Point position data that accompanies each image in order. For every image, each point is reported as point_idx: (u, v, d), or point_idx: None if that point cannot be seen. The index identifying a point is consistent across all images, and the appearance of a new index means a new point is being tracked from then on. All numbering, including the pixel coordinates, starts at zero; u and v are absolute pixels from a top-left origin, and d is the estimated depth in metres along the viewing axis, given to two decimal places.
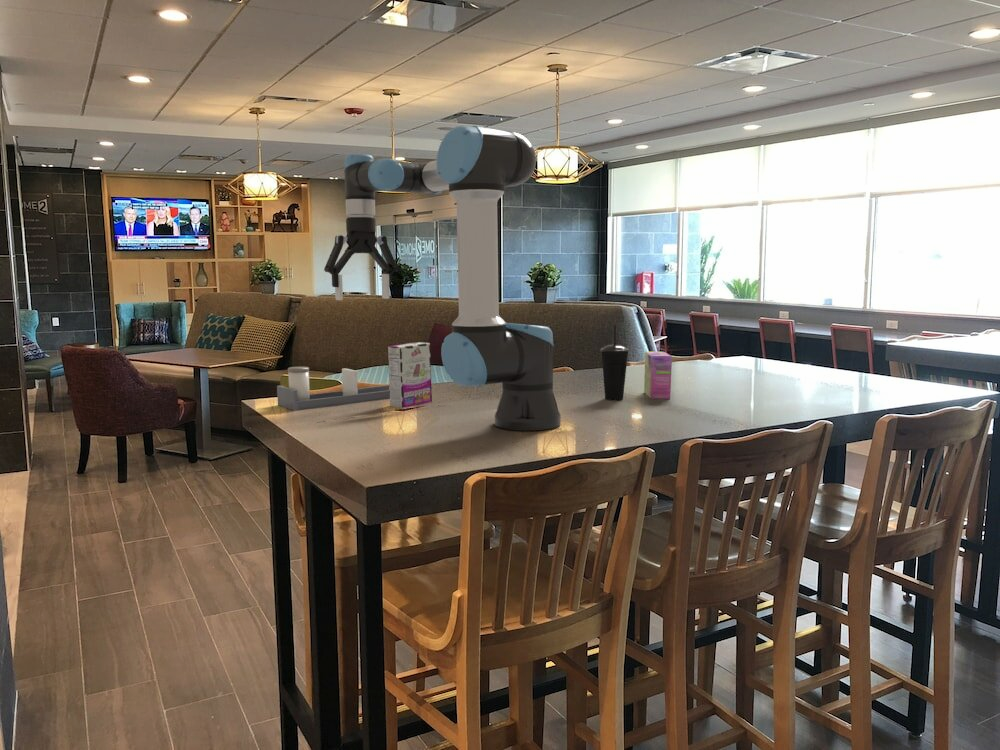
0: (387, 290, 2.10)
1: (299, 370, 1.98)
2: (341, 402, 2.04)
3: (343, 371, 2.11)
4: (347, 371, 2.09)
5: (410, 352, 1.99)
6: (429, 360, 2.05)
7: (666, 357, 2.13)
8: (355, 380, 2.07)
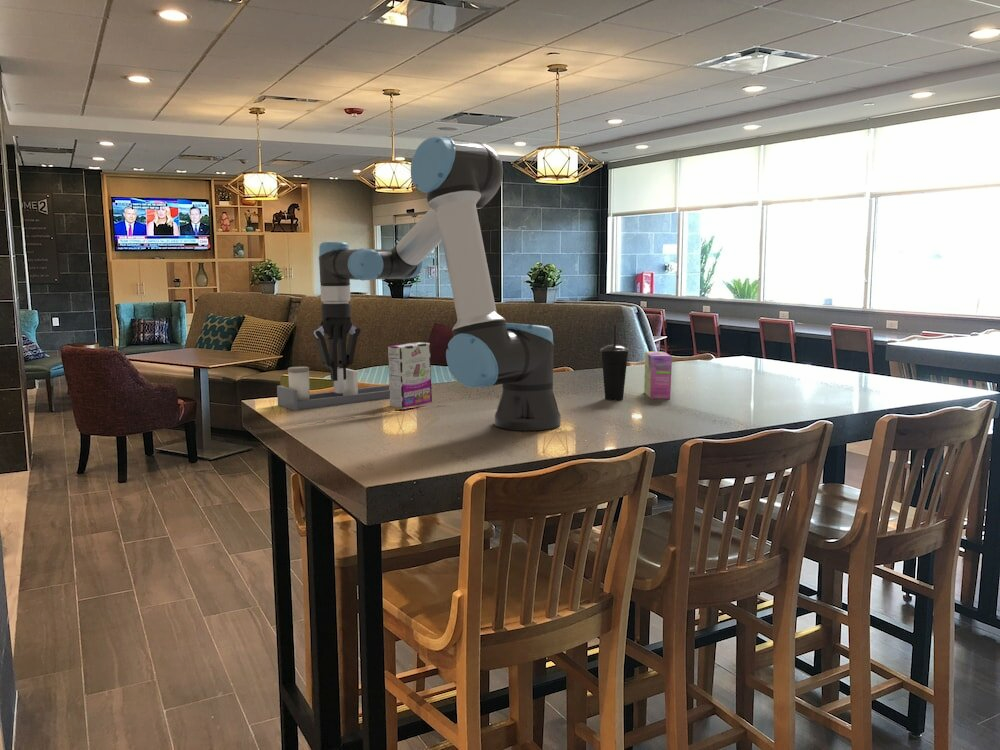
0: (341, 384, 2.07)
1: (299, 370, 1.98)
2: (341, 402, 2.04)
3: None
4: (347, 371, 2.09)
5: (410, 352, 1.99)
6: (429, 360, 2.05)
7: (666, 357, 2.13)
8: (355, 380, 2.07)
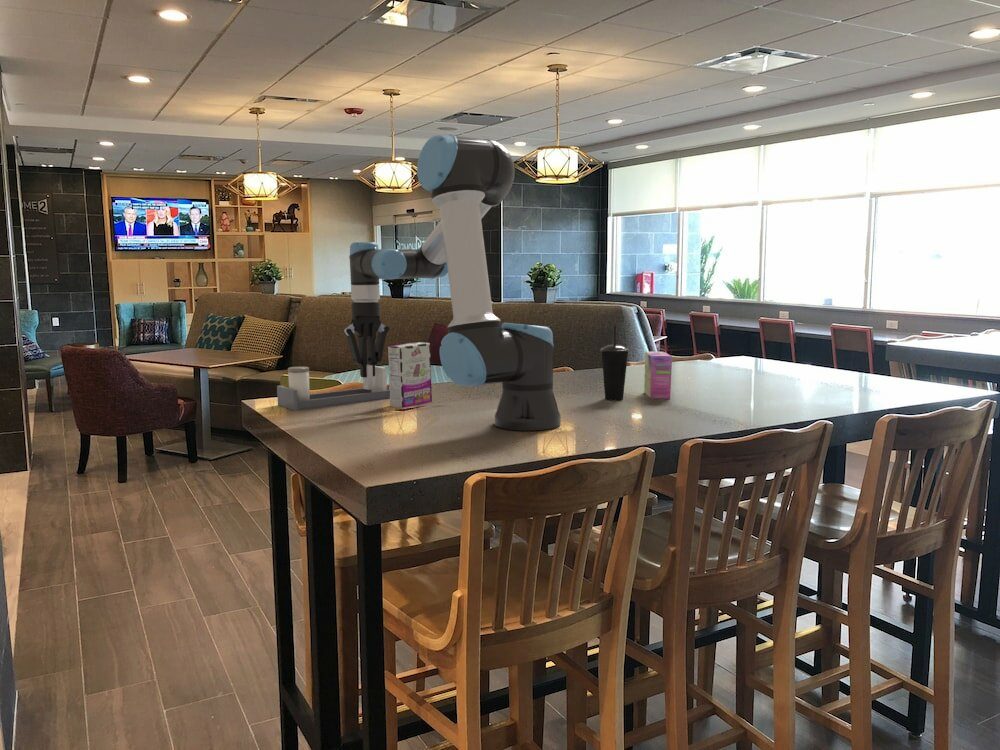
0: (371, 381, 2.12)
1: (299, 370, 1.98)
2: (341, 402, 2.04)
3: None
4: (376, 368, 2.14)
5: (410, 352, 1.99)
6: (429, 360, 2.05)
7: (666, 357, 2.13)
8: (384, 377, 2.12)
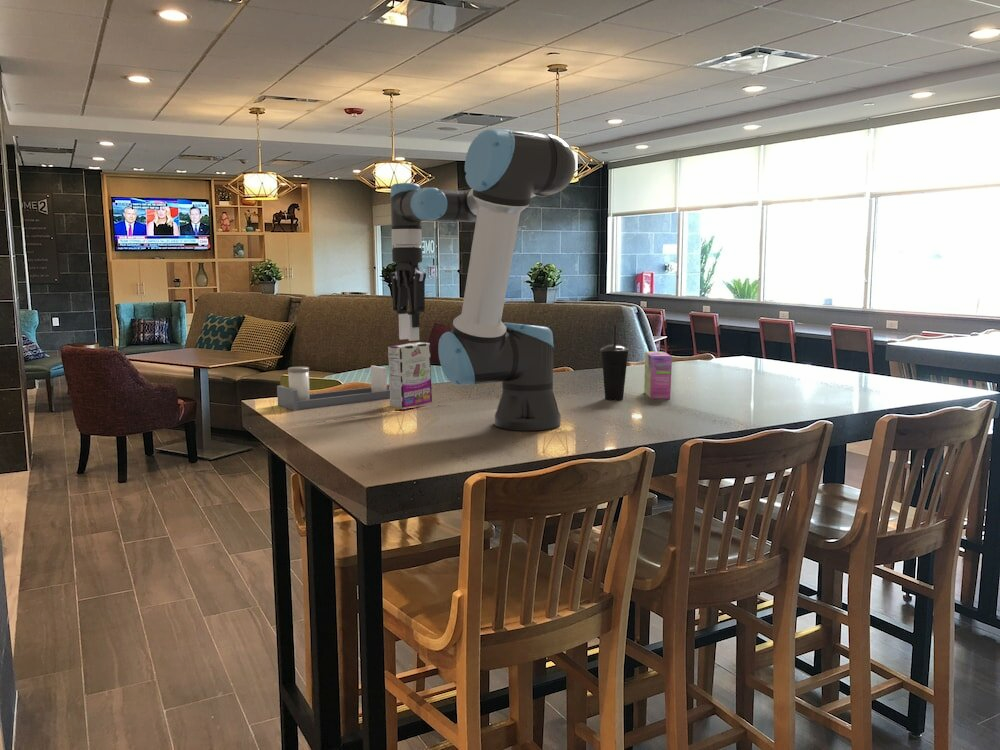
0: (409, 332, 1.99)
1: (299, 370, 1.98)
2: (341, 402, 2.04)
3: (372, 368, 2.16)
4: (376, 368, 2.14)
5: (410, 352, 1.99)
6: (429, 360, 2.05)
7: (666, 357, 2.13)
8: (384, 377, 2.12)
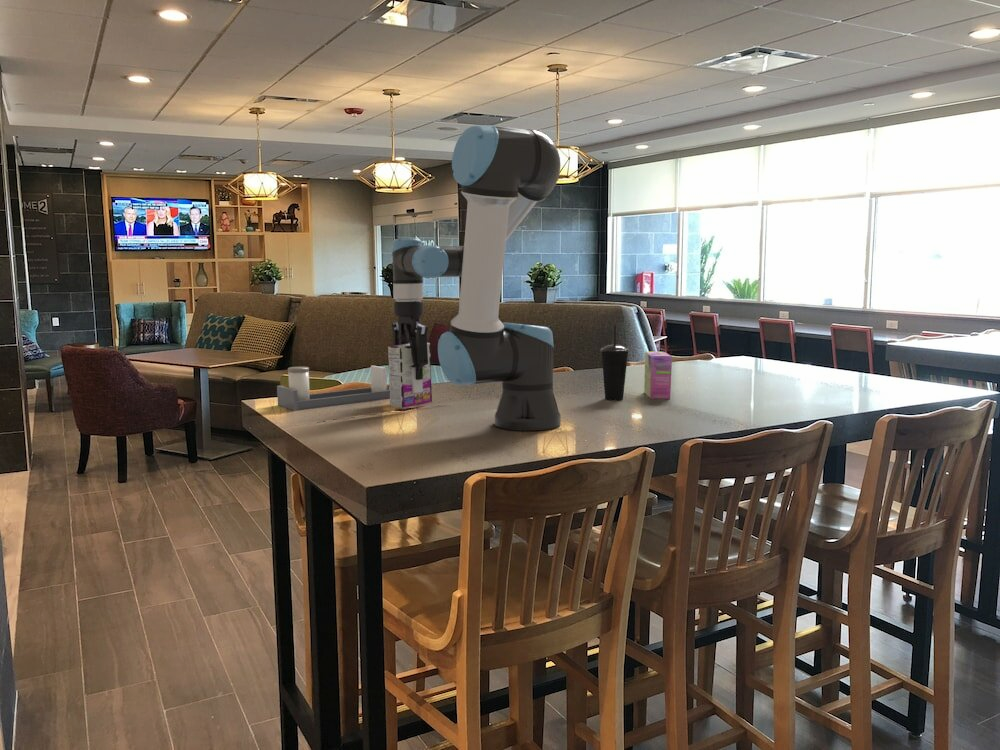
0: (412, 384, 2.00)
1: (299, 370, 1.98)
2: (341, 402, 2.04)
3: (372, 368, 2.16)
4: (376, 368, 2.14)
5: (410, 352, 1.99)
6: (429, 360, 2.05)
7: (666, 357, 2.13)
8: (384, 377, 2.12)
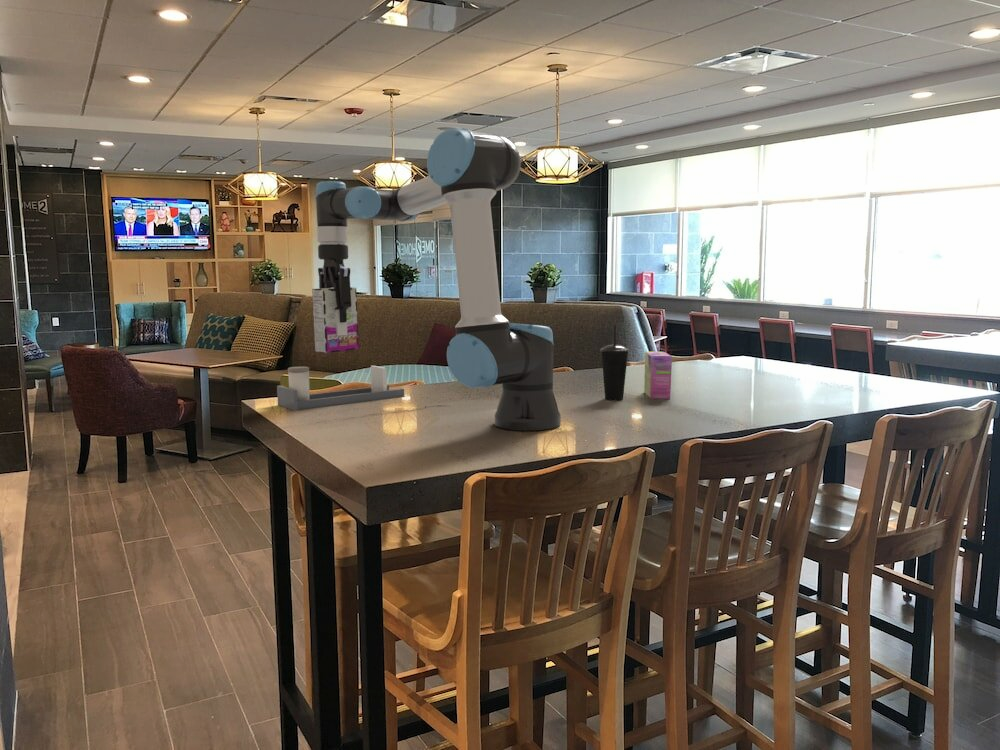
0: (336, 326, 2.02)
1: (299, 370, 1.98)
2: (341, 402, 2.04)
3: (372, 368, 2.16)
4: (376, 368, 2.14)
5: (334, 294, 2.01)
6: (355, 304, 2.07)
7: (666, 357, 2.13)
8: (384, 377, 2.12)
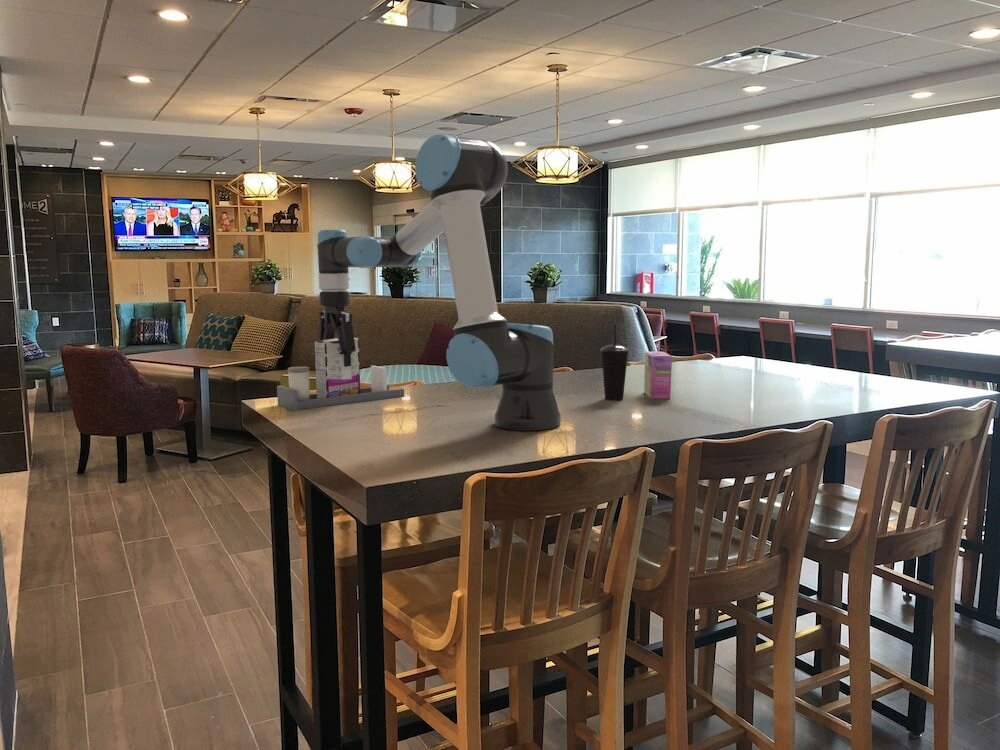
0: (341, 371, 2.02)
1: (299, 370, 1.98)
2: (341, 402, 2.04)
3: (372, 368, 2.16)
4: (376, 368, 2.14)
5: (336, 346, 2.03)
6: (357, 355, 2.08)
7: (666, 357, 2.13)
8: (384, 377, 2.12)
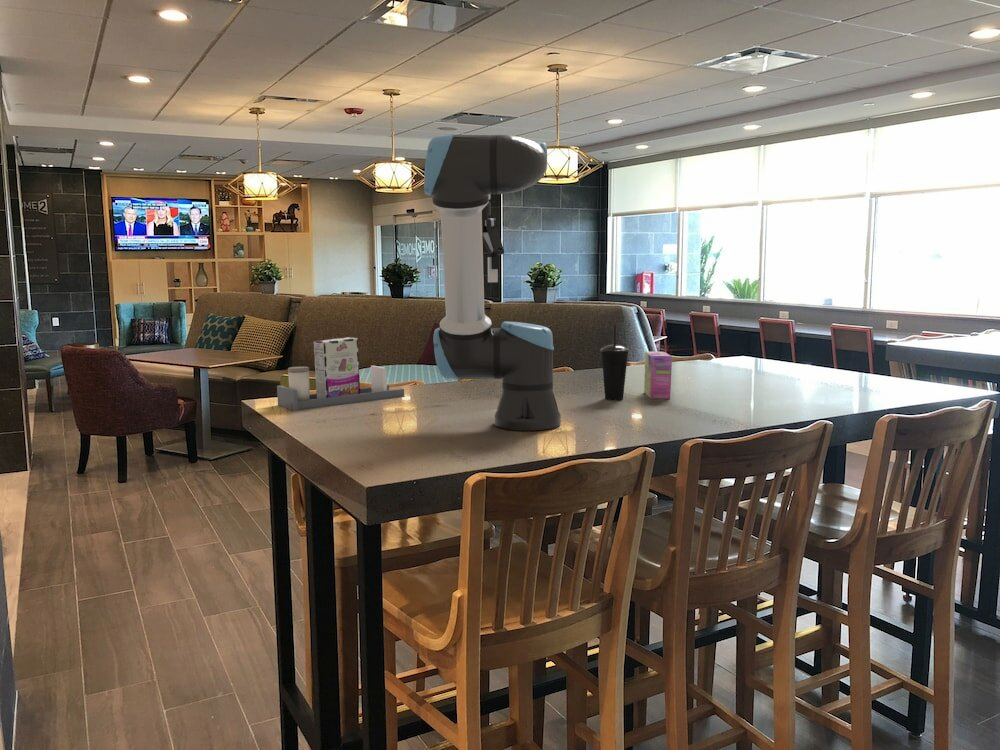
0: (488, 274, 2.06)
1: (299, 370, 1.98)
2: (341, 402, 2.04)
3: (372, 368, 2.16)
4: (376, 368, 2.14)
5: (335, 346, 2.03)
6: (357, 355, 2.09)
7: (666, 357, 2.13)
8: (384, 377, 2.12)
